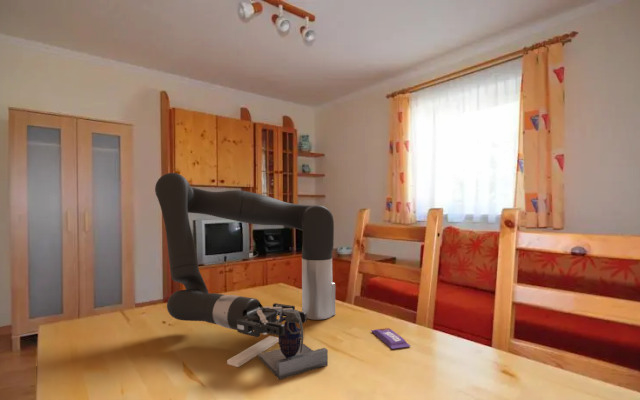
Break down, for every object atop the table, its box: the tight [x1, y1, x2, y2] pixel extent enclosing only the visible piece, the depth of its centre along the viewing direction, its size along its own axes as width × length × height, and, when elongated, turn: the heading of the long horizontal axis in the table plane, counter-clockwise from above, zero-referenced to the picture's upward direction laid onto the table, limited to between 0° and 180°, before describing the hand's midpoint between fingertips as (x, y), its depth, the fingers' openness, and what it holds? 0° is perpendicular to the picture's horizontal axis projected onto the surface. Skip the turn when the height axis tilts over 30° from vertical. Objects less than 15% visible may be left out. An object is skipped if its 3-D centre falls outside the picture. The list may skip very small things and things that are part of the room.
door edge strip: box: [226, 335, 279, 368], centre depth 77 cm, size 15×3×1 cm, turn 152°
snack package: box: [370, 327, 411, 350], centre depth 83 cm, size 12×2×5 cm
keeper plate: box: [257, 343, 329, 381], centre depth 72 cm, size 11×11×3 cm
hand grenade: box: [278, 309, 304, 358], centre depth 72 cm, size 6×5×10 cm
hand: (295, 323), depth 72 cm, fingers open, 8 cm apart
